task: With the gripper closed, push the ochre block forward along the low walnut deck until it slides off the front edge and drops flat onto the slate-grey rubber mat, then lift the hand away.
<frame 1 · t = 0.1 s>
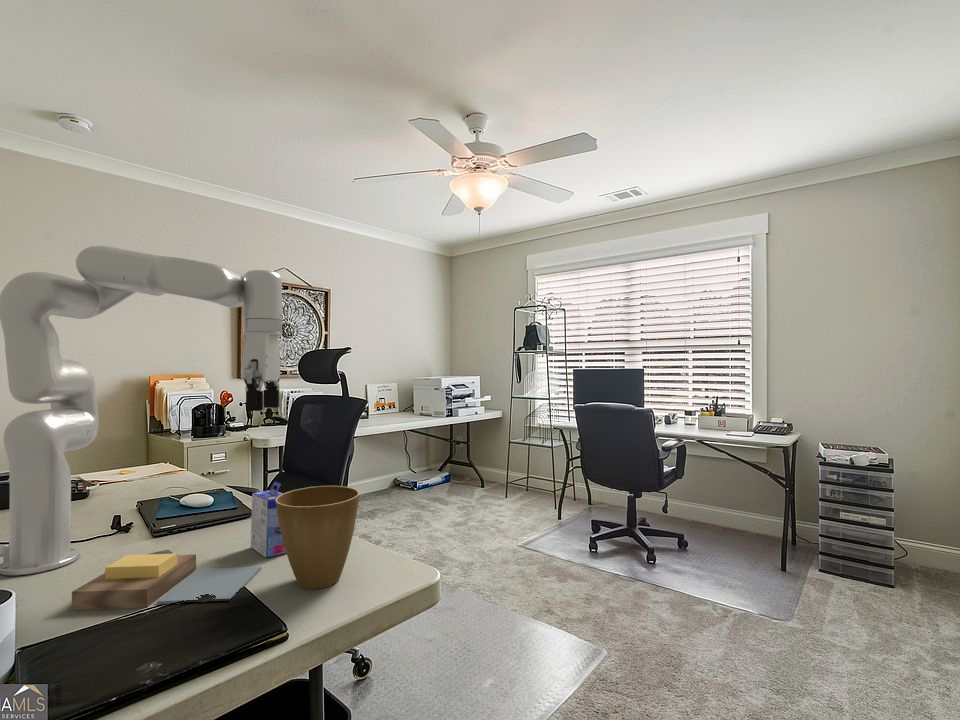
hand: (263, 409, 106), 31 cm above the table, fingers open, 9 cm apart
solid state drive: (156, 563, 104), on the table
walnut deck: (139, 588, 91), on the table
ink cartridge box: (270, 551, 110), on the table
plant pot: (318, 582, 93), on the table
ochre block: (142, 571, 91), point 3 cm above the table, touching walnut deck
slate mat: (213, 585, 91), on the table
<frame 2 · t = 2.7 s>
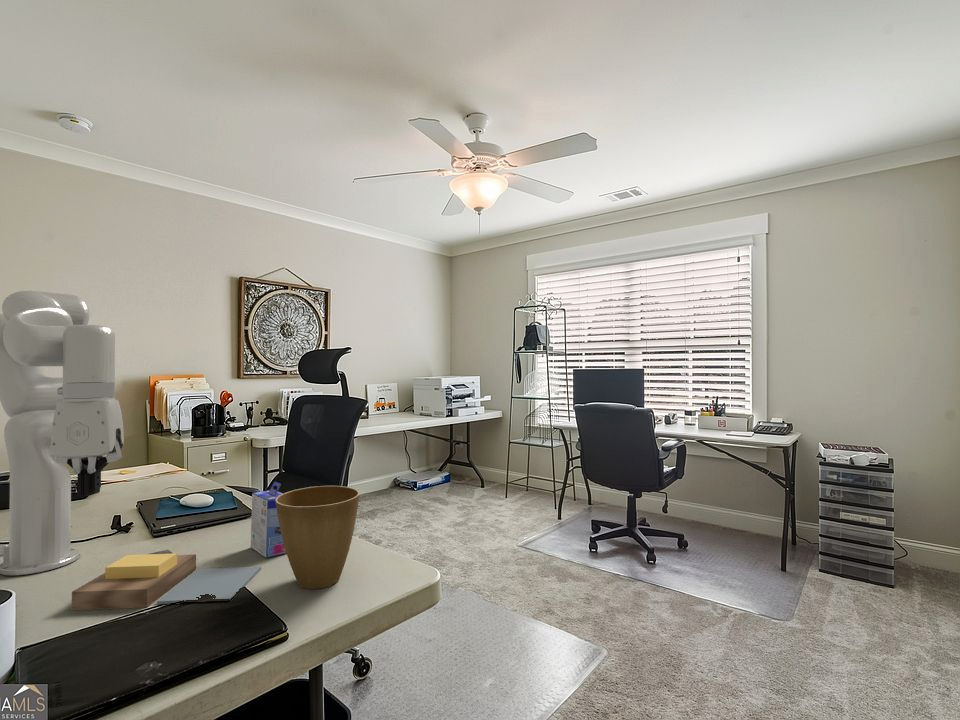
hand: (89, 494, 90), 17 cm above the table, fingers closed
nothing on the table moved.
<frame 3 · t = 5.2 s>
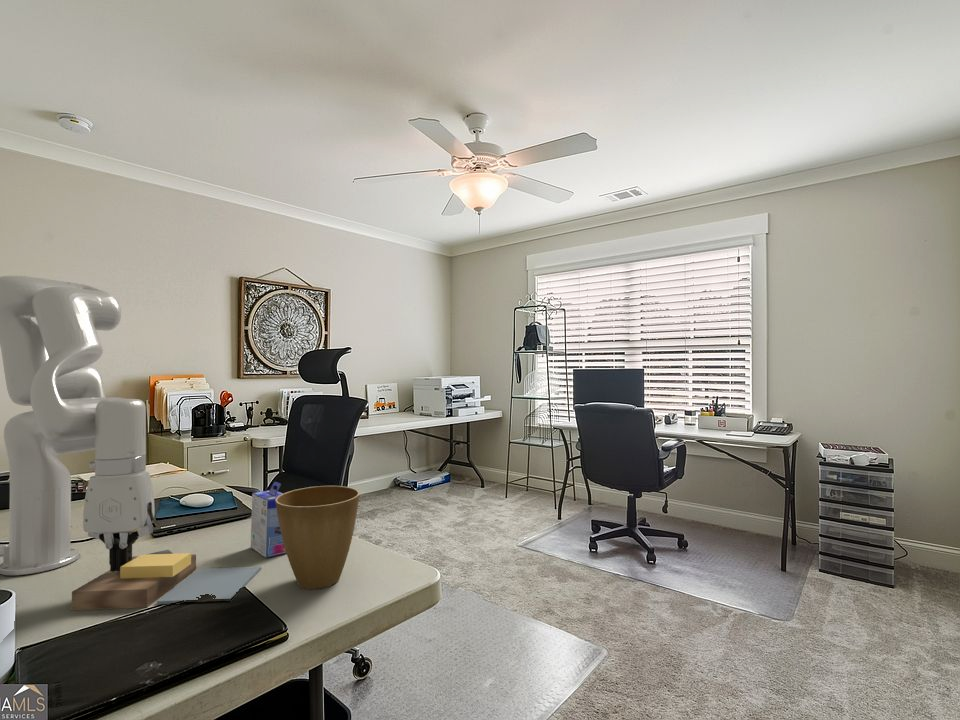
hand: (120, 568, 90), 4 cm above the table, fingers closed
ochre block: (156, 570, 91), point 3 cm above the table, touching walnut deck
everything else where it was.
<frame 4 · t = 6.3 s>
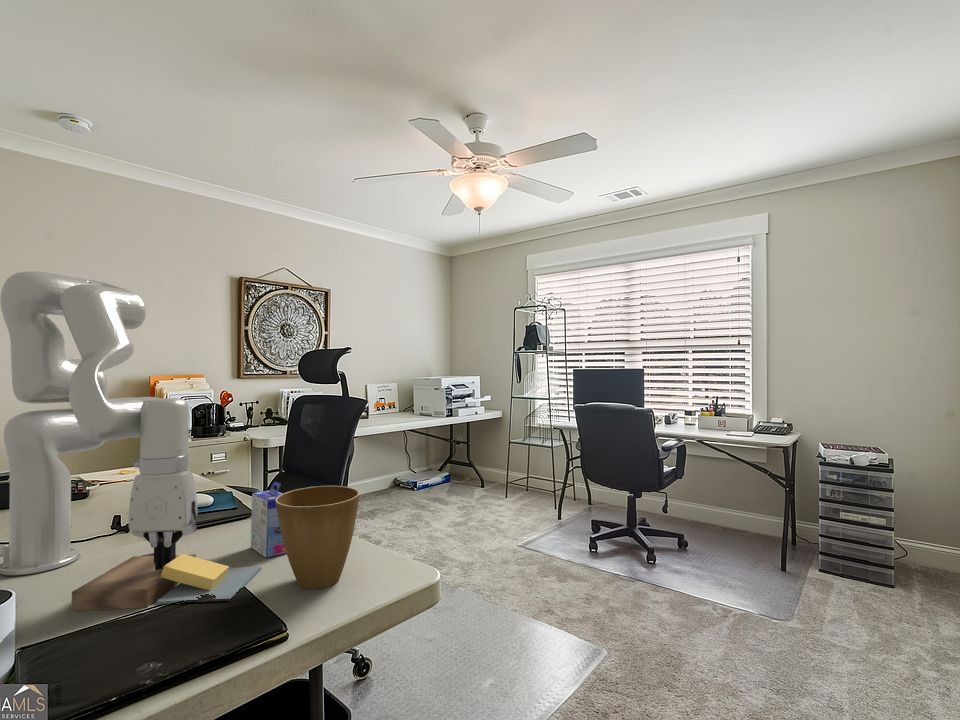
hand: (164, 566, 91), 4 cm above the table, fingers closed
ochre block: (194, 577, 91), point 2 cm above the table, tilted 17°, touching slate mat, walnut deck
everything else where it was.
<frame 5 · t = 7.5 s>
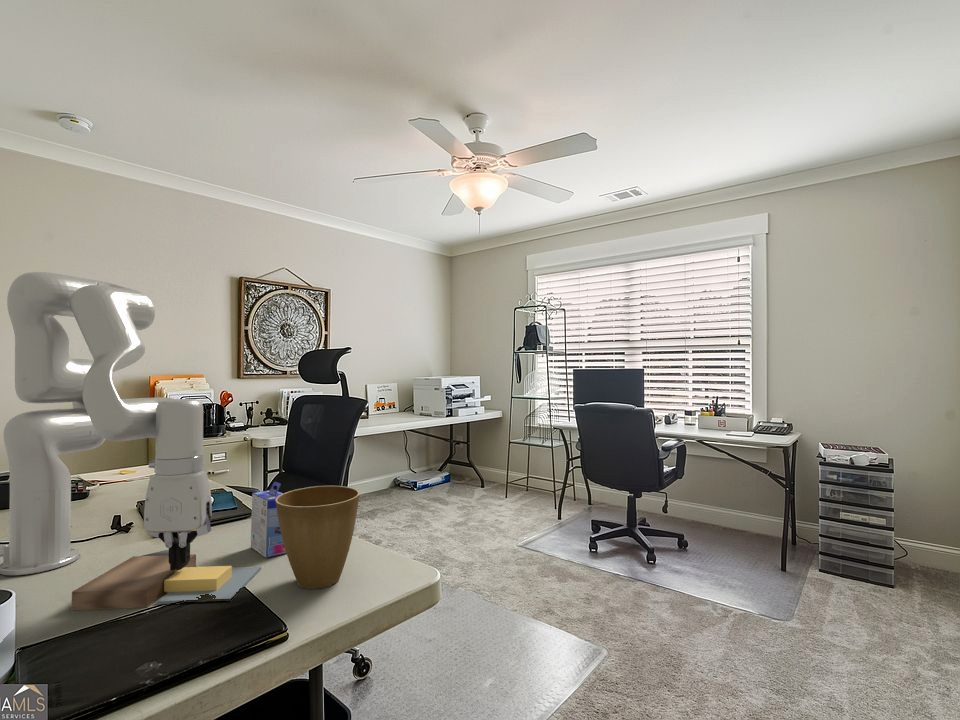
hand: (179, 567, 91), 4 cm above the table, fingers closed
ochre block: (199, 584, 91), resting on slate mat
everything else where it was.
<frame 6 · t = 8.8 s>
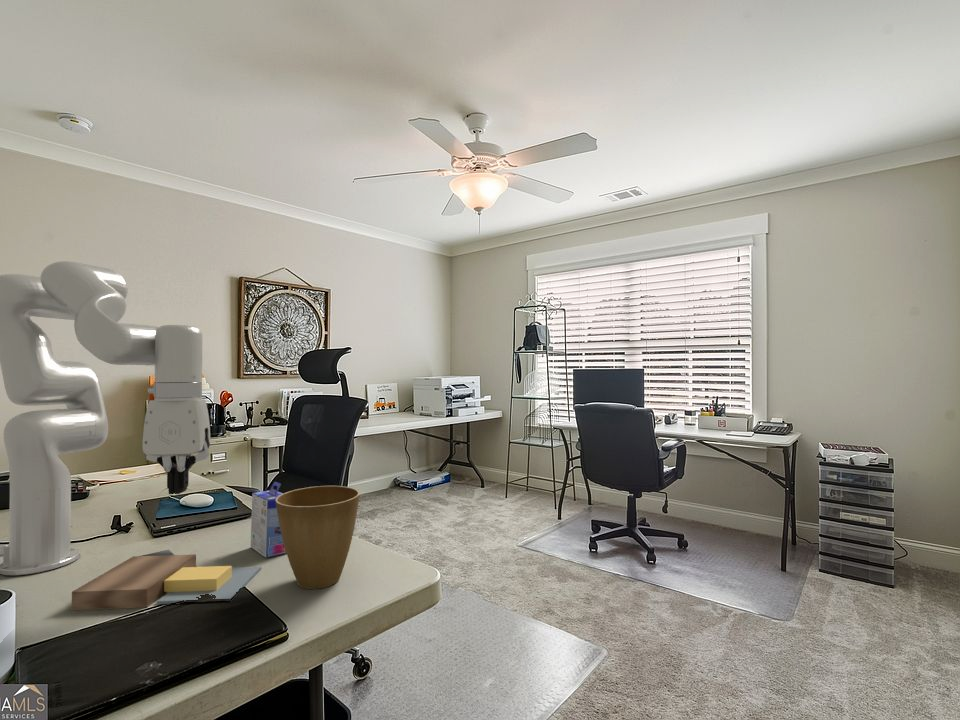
hand: (177, 492, 92), 17 cm above the table, fingers closed
nothing on the table moved.
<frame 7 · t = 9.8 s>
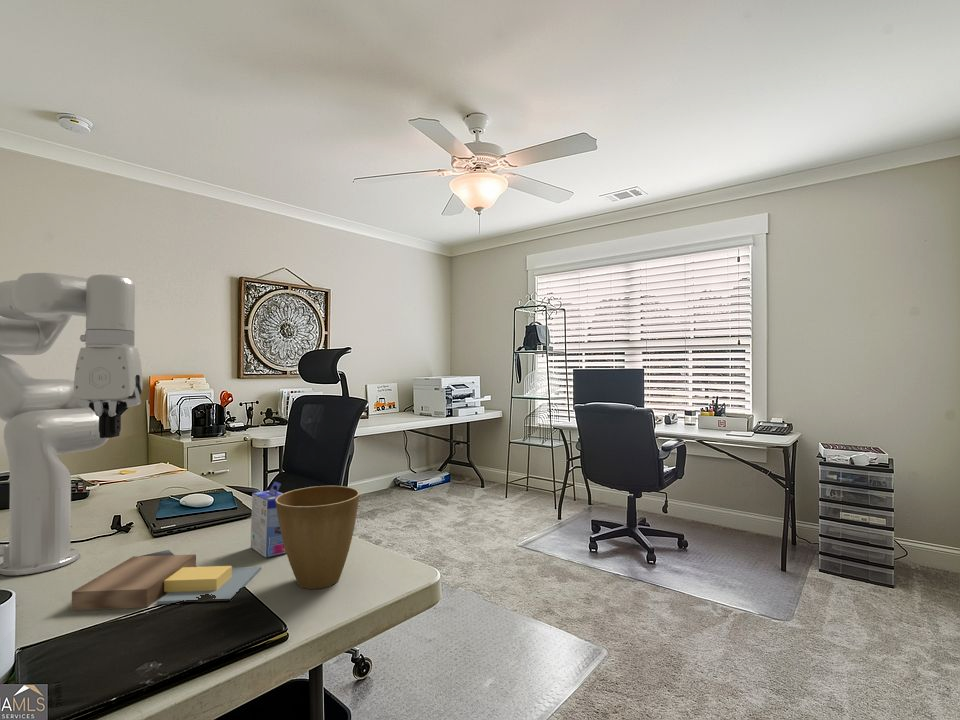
hand: (109, 436, 95), 27 cm above the table, fingers closed
nothing on the table moved.
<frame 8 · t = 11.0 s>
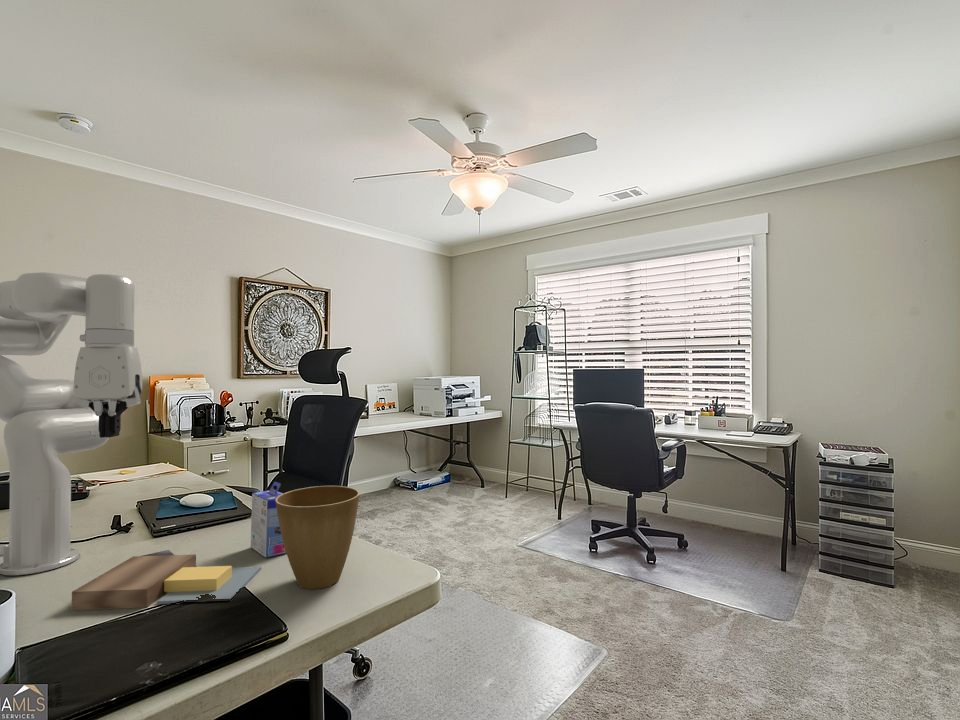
hand: (109, 436, 95), 27 cm above the table, fingers closed
nothing on the table moved.
at the end: ochre block inside the target area (2.4 cm from its centre), point 0.5 cm above the table; ochre block touching slate mat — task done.
